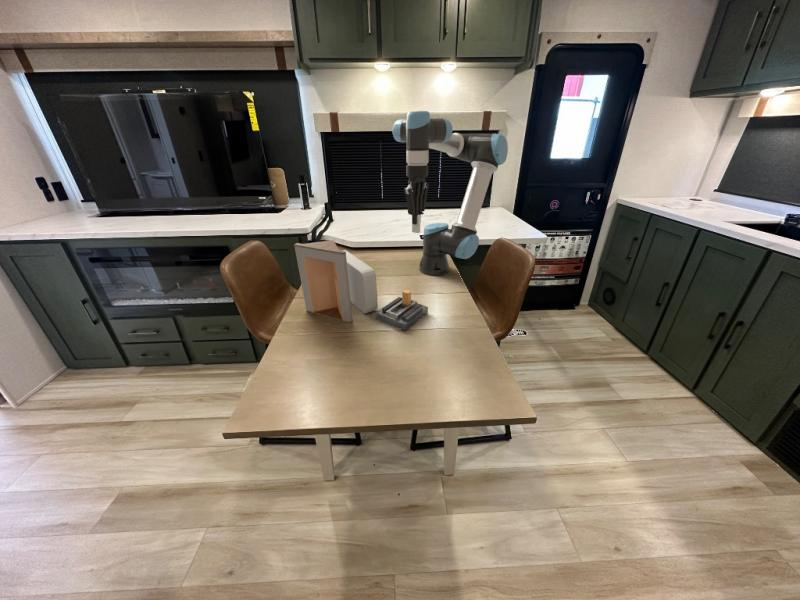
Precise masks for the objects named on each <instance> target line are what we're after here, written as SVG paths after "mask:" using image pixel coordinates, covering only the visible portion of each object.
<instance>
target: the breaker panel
mask: <svg viewBox="0 0 800 600" xmlns="http://www.w3.org/2000/svg"><path fill="white" fill-rule="evenodd" d="M399 297H400V296H398V297H397V298H399ZM397 298H395V299H394V300H396V299H397ZM394 300H392V301H390V302H389V303H388V304H390V303H391V302H393V301H394ZM388 304H386V305H388ZM417 304H419V303H418V301H417V300H415V299H412V298H411V304H410V305H409V306H407V307H406V308H404V307H402V301H400V302H399V303H397V304H396V305H394V306H393V307H392V308H390V309H389V310H387V311H386V312H382V308H383V307H385V306H386V305H384V306H383V307H381V308H380V309H378V310H376V311H375V313H374V314H375V320H376V321H380V322H382V323H383V324H387V325H389V326H392V327H393V328H396V329H399V330H402V332H403V331H404V332H407V331H408V330H409V329H410V328H412V327H413V326H415V324H417V322H419V321H421V320H422V319H423V318H424V317H425V316H427V315H428V313H429V306H426V305H423V304H421V305H422V307H423V310H422V311H420V312H419V313H418V314H417V315H415V316H414V317H413V318H411V319H410V320H409V321H405V320H402V315H404V314H405V313H407V312H408V311H409V310H411V309H412V308H413V307H415V306H416V305H417Z"/></svg>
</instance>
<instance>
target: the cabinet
mask: <svg viewBox="0 0 800 600" xmlns="http://www.w3.org/2000/svg"><path fill="white" fill-rule="evenodd" d="M294 251H295V255H296V261H297V266H298V267H297V268H298V272H299V278H300V283H301V288H302V293H303V294H302V295H303V299H304V304H305V310H306V312H308V313H311V314H314V315H318V316H322V317H325V318H328V319H329V318H330V319H333V320H336V321H340V322H343V323H347V324H352V323H353V322H354V319H353V309H352V302H351V298H350V288H349V279H348V269H347V259H346V251H347V250H346V251H343V250H341V249H340V250H339V247H338V246H337V244H336V242H335V241H334V239H330V240H323V241H316V242H310V243H309V242H308V243H307V242H306V243H300V242H299V243H298V242H296V243H294Z"/></svg>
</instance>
